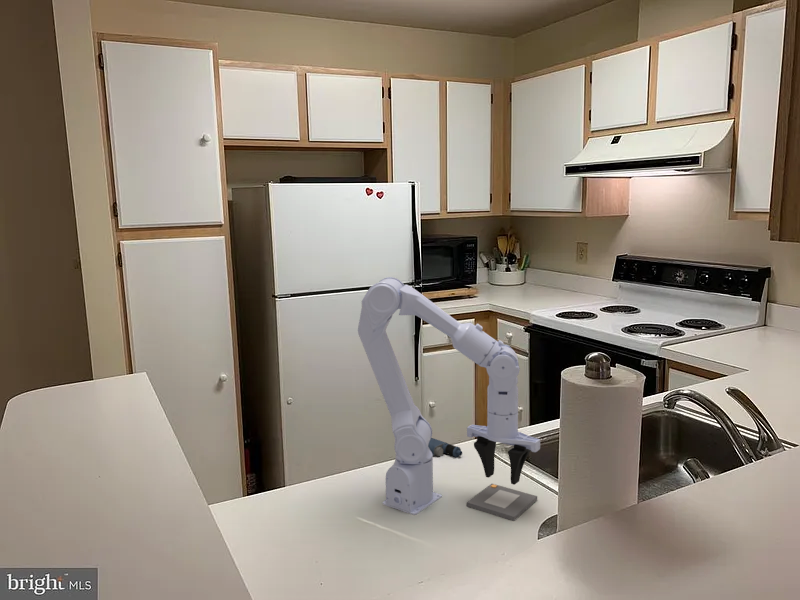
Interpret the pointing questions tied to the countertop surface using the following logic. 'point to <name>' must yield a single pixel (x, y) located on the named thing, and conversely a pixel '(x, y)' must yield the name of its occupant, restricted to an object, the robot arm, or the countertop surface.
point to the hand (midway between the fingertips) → (502, 479)
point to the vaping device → (443, 448)
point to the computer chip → (502, 501)
